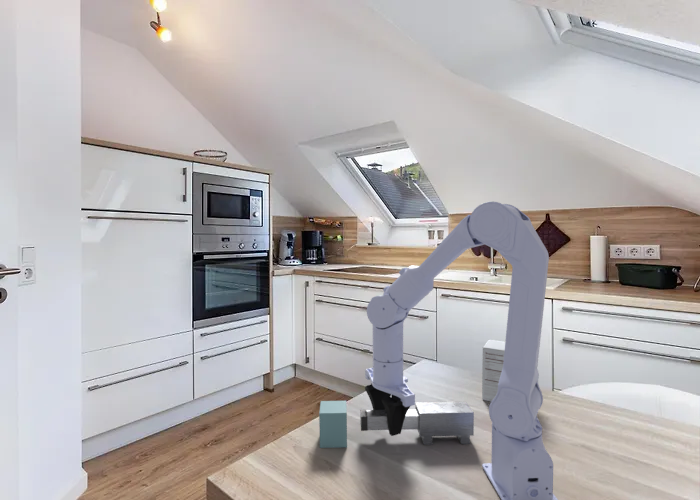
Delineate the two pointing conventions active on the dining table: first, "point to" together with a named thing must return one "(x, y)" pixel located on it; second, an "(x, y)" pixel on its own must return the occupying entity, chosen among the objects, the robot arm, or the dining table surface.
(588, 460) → the dining table surface
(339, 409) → the socket
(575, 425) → the dining table surface
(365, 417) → the extension bar
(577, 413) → the dining table surface
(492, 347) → the supplement box
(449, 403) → the sleeve
